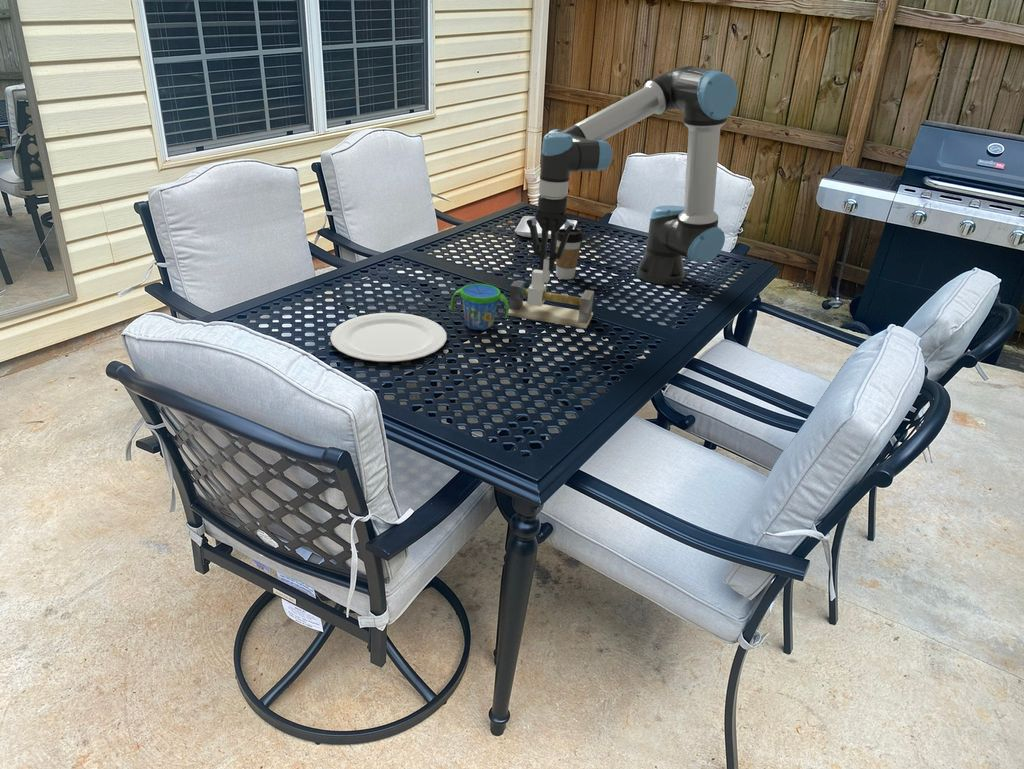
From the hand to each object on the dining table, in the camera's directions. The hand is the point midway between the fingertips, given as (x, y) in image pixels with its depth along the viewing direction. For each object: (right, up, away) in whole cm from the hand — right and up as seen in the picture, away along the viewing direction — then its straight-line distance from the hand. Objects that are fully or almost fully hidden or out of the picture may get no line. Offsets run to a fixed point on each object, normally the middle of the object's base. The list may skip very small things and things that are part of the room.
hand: (545, 280), depth 204 cm
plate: (-41, -18, -16) cm, 47 cm away
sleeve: (-3, -6, +4) cm, 7 cm away
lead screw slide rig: (+1, -9, +4) cm, 10 cm away
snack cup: (-18, -13, -5) cm, 23 cm away
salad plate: (+4, +28, +74) cm, 79 cm away
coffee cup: (+8, +6, +33) cm, 35 cm away
